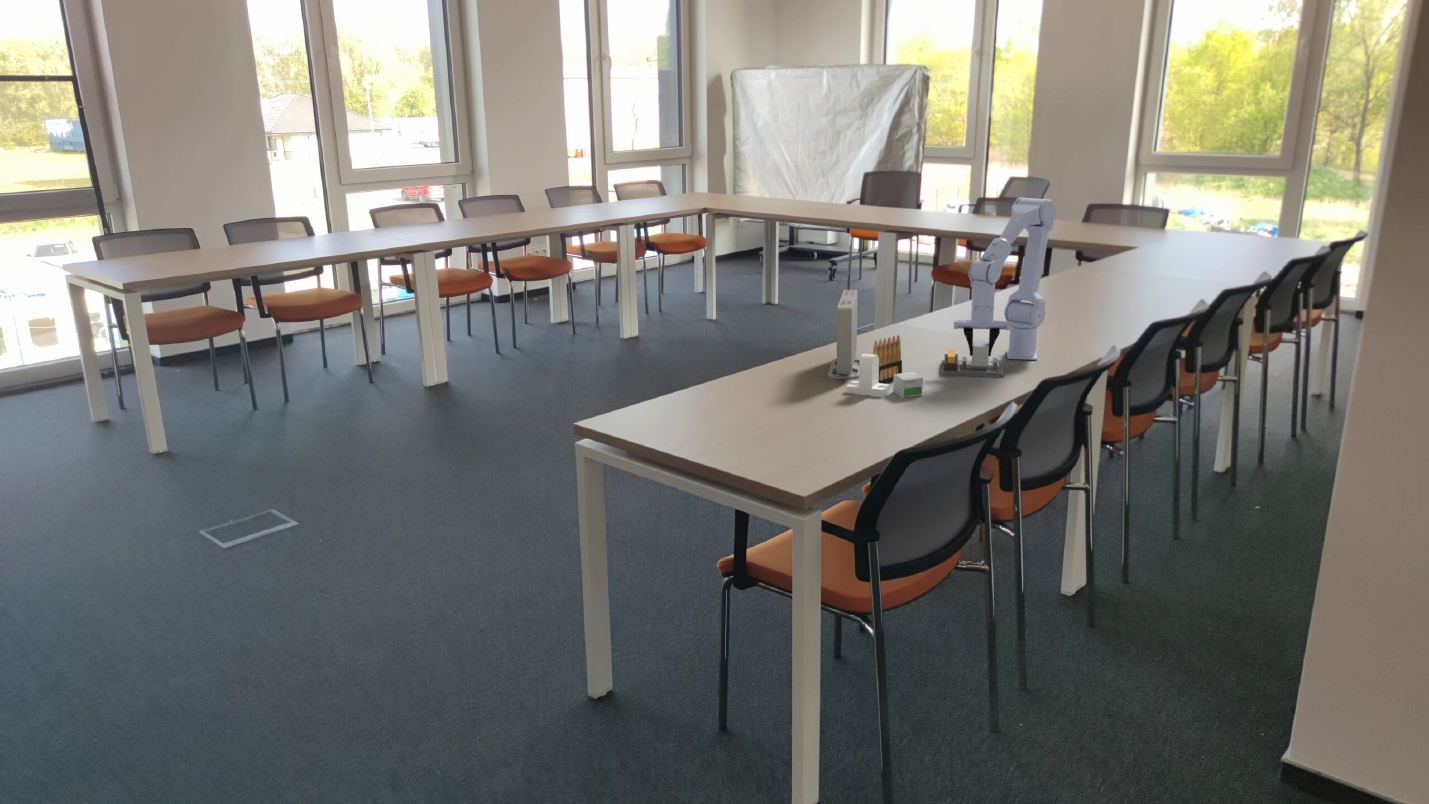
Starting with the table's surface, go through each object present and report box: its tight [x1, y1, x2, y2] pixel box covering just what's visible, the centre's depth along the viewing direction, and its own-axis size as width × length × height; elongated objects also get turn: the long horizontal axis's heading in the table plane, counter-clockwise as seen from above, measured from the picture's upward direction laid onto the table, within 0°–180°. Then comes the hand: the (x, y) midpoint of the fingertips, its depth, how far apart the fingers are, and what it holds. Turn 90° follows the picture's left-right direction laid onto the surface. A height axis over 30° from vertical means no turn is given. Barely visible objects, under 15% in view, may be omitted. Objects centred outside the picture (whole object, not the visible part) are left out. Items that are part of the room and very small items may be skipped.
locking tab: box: [947, 348, 956, 363], centre depth 260 cm, size 8×2×2 cm, turn 167°
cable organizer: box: [846, 353, 890, 398], centre depth 242 cm, size 5×10×10 cm, turn 62°
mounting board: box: [940, 359, 1005, 378], centre depth 260 cm, size 12×16×1 cm
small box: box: [892, 371, 924, 399], centre depth 241 cm, size 6×6×5 cm
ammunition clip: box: [872, 334, 903, 384], centre depth 250 cm, size 11×2×12 cm, turn 130°
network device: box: [827, 289, 860, 380], centre depth 262 cm, size 26×9×20 cm, turn 168°
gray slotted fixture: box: [943, 353, 1000, 371], centre depth 260 cm, size 10×14×2 cm
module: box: [971, 340, 989, 369], centre depth 258 cm, size 7×4×6 cm, turn 167°
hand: (980, 355), depth 258 cm, fingers closed on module, 4 cm apart
